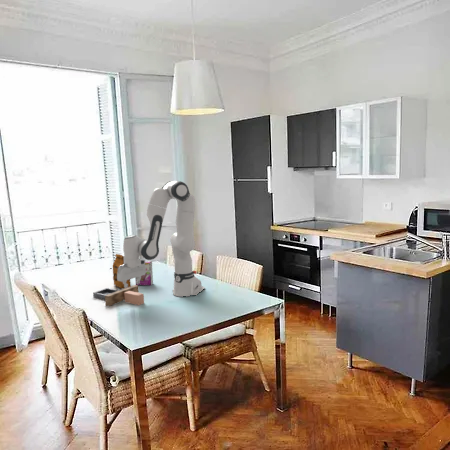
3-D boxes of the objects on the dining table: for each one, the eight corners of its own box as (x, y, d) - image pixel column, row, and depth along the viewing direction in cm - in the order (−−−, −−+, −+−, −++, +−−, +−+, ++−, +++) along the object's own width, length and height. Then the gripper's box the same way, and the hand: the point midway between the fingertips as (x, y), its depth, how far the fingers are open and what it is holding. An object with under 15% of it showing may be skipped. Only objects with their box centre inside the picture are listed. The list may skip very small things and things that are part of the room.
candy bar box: (135, 285, 267) (134, 262, 265) (137, 283, 272) (136, 260, 270) (151, 285, 266) (150, 262, 264) (153, 283, 271) (152, 260, 269)
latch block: (129, 300, 238) (129, 290, 237) (144, 303, 231) (143, 293, 231) (124, 302, 234) (124, 292, 234) (139, 305, 228) (138, 295, 227)
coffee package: (118, 289, 259) (116, 257, 256) (112, 285, 269) (110, 254, 266) (132, 286, 265) (131, 255, 262) (125, 282, 275) (124, 252, 272)
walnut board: (135, 293, 249) (134, 284, 248) (138, 294, 247) (138, 285, 247) (105, 305, 229) (104, 295, 228) (109, 306, 227) (108, 296, 227)
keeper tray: (107, 292, 254) (106, 287, 253) (125, 296, 245) (125, 291, 244) (93, 297, 245) (93, 292, 244) (111, 301, 236) (111, 296, 235)
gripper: (121, 266, 219) (122, 290, 221) (147, 260, 236) (147, 282, 238) (114, 265, 222) (114, 288, 224) (139, 258, 239) (140, 280, 241)
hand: (132, 285), depth 231 cm, fingers open, 8 cm apart
